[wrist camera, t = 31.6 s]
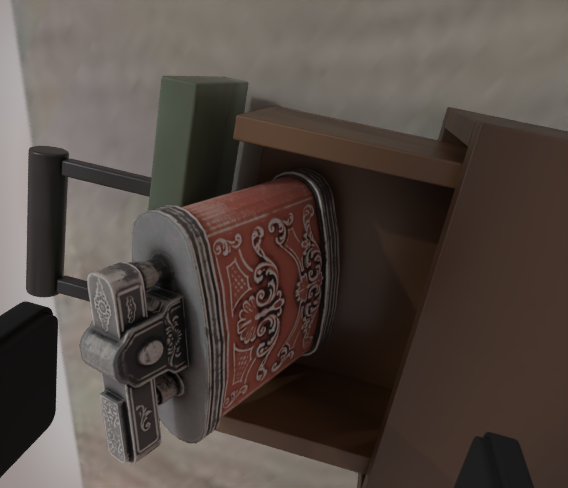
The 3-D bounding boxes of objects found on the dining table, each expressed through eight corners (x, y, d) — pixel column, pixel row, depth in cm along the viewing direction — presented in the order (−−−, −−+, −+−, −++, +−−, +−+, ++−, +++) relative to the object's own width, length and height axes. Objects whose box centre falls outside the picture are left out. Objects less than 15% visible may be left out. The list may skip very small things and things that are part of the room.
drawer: (82, 317, 27) (-3, 384, 21) (99, 50, 22) (-4, 40, 16) (468, 424, 24) (494, 534, 19) (573, 149, 20) (651, 179, 14)
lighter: (272, 163, 21) (40, 222, 14) (342, 173, 19) (118, 248, 12) (275, 334, 24) (83, 461, 16) (336, 357, 22) (152, 514, 14)
